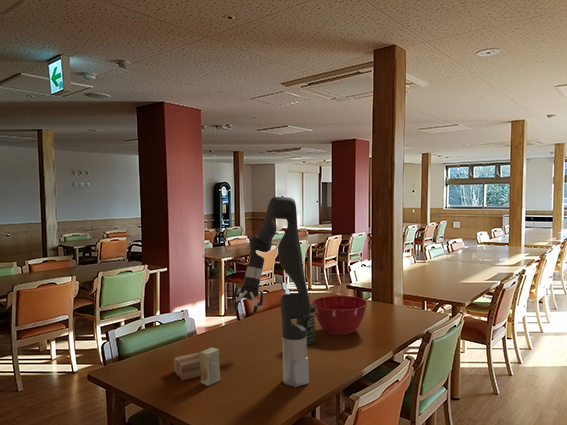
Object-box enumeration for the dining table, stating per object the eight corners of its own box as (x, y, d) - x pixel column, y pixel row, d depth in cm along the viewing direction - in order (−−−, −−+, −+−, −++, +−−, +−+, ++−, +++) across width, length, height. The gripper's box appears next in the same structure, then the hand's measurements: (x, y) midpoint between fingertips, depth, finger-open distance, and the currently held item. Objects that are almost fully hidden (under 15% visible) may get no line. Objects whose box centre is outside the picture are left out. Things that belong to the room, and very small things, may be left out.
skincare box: (213, 377, 165) (212, 346, 164) (220, 380, 162) (219, 349, 162) (200, 383, 160) (199, 351, 159) (207, 386, 157) (206, 354, 157)
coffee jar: (304, 347, 196) (304, 307, 196) (293, 343, 202) (292, 304, 202) (319, 342, 203) (318, 303, 202) (307, 338, 209) (306, 301, 208)
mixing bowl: (338, 344, 199) (338, 312, 198) (301, 330, 222) (300, 301, 221) (379, 332, 216) (378, 302, 215) (340, 320, 239) (339, 293, 238)
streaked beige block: (206, 374, 168) (206, 360, 168) (182, 381, 163) (181, 365, 163) (197, 366, 177) (197, 352, 176) (174, 372, 171) (173, 357, 171)
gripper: (236, 273, 196) (228, 308, 193) (266, 279, 194) (258, 315, 190) (240, 275, 204) (232, 309, 200) (268, 281, 201) (261, 315, 197)
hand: (244, 312), depth 195 cm, fingers open, 8 cm apart
